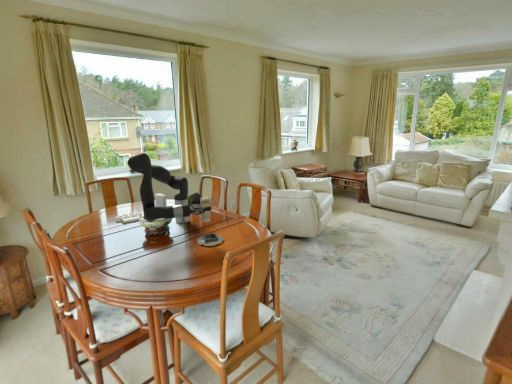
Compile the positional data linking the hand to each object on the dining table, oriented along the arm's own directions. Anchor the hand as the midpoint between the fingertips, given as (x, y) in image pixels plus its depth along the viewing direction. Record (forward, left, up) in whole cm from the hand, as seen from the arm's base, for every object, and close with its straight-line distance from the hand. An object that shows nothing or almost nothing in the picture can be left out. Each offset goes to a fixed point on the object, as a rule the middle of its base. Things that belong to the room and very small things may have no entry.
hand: (209, 207), depth 175 cm
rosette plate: (0, 0, -22) cm, 22 cm away
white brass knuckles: (-63, -44, -22) cm, 80 cm away
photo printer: (-82, -19, -22) cm, 87 cm away
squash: (-67, +6, -22) cm, 71 cm away
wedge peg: (0, -3, -8) cm, 8 cm away
